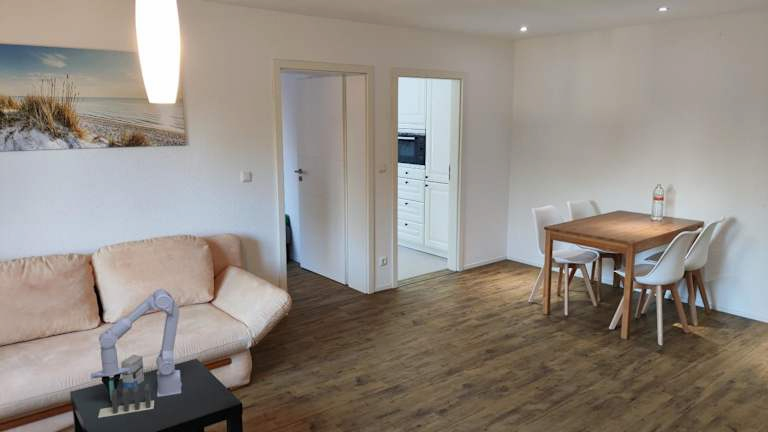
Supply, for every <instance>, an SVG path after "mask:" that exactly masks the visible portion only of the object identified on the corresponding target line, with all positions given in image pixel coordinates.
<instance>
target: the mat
mask: <svg viewBox="0 0 768 432" xmlns="http://www.w3.org/2000/svg"><path fill="white" fill-rule="evenodd" d="M129 404H130V403H129ZM154 406H155V400H151V407H150V408H146V401H143V402H141V401H140V410H135V403H131V404H130V407H129V411H128V412H124V404H123V405H119V409H118V413H116V414H113V408H112V407H111V406H110V407H105V408H100V409H99V413H98V417H97V418H98V419H100V418H104V417H105V418H106V417H111V416H118V415H125V414H129V413H134V412H135V413H136V412H141V411H146V410H147V411H148V410H153V409H154Z"/></svg>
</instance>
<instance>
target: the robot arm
mask: <svg viewBox="0 0 768 432" xmlns="http://www.w3.org/2000/svg"><path fill="white" fill-rule="evenodd" d="M158 309H159V310H161V311H163V312H164V313H165V314H166V315H165V321H164V330H163V336H162V344H161V349H160V350H159V355H158V356H157V358H156V360H155V363H156V365H157V368H158V369H157V370H156V379H157V392H156V395H157V396H156V397H157V398H161V397H166V396H172V395H179V394H182V387H183V383H182V380H181V378H182V377H181V370H180V369H175V368H176V366H175V363H174V359H175V358H174V356H175V355H174V349H175V343H176V338H177V337H176V336H177V330H178V322H179V316H180V309H179V307H178V305H177V304H176V301H175V300H174V299H173V297H172V295H171V293H169V292H168V291H167V290H165V289H163V288H160V289H156V290H155V291H153V293H151V294H149V295H148V296H147V297H146V299H144V300H143V301H142V302H140V304H139V305H138V306H137V307H136V308H135V309H133V311H132V312H131V313H130V314H129V315H127V316H126V317H121V318H120V319H119V318H116V320H115V323H114V324H113V325H111V326H110V327H108V328H106V329H105V331H103V332H101V333H100V334H99V338H98V341H99V345H100V356H101V357H100V358H101V368H102V370H99V371H95V372H91V373H90V380H94V379H98V378H99V379H100V378H101V382H102V383H103V385H104V386H105V387H106V390H107V393H108V394H109V395H110V389H109V380H110V377H113V381H114V389H117V390H118V385H119V382H120V379H121V375H122V374H126V373H128V374H130V373H131V367H129V368H122V367H119V362H118V361H119V360H118V351H117V348H116V344H117V341H118V340H120V338H122V337H123V336H124V335H126V333H128V332H129V331H130V330H131V329H132V328H133V323H134V322H136V321H137V320H139V318H141V317H143V315H146V313H147V312H148V311H157V310H158Z"/></svg>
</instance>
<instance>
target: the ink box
mask: <svg viewBox="0 0 768 432" xmlns="http://www.w3.org/2000/svg"><path fill="white" fill-rule="evenodd" d="M120 364H121V367H120V368H129V367H131V373H130V374H128V373H126V374H121V375H122V377H121V378H122V389H123V388H125V387H128V389H131V390H132V389H133V390H134V386H138V385H140V384H141V383H143V382H144V381H145V376H144V374H145V373H144V372H145V371H144V361H143V355H138V354H132V355H130V356H129V357H126V359H124V360H122V361H121V362H120Z"/></svg>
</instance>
